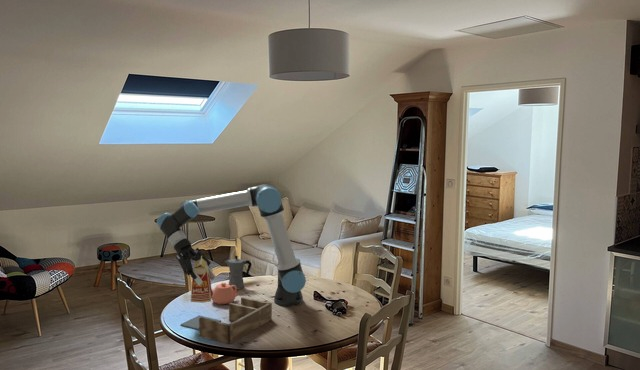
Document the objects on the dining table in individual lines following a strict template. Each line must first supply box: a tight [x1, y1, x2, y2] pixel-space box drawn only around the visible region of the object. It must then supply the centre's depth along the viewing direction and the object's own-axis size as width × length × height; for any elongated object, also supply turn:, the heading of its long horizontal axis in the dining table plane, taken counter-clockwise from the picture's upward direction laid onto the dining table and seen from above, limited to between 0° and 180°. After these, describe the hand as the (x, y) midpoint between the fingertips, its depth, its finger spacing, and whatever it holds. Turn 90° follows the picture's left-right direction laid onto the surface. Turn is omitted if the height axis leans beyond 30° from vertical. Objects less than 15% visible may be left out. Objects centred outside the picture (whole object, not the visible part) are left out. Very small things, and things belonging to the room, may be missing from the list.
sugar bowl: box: [211, 282, 239, 306], centre depth 273 cm, size 12×14×10 cm
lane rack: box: [198, 296, 273, 345], centre depth 240 cm, size 17×32×8 cm, turn 153°
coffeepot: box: [224, 255, 252, 290], centre depth 297 cm, size 15×9×18 cm, turn 82°
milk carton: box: [190, 256, 213, 304], centre depth 240 cm, size 9×9×20 cm
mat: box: [180, 314, 222, 331], centre depth 243 cm, size 13×13×1 cm
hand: (207, 281), depth 239 cm, fingers closed on milk carton, 9 cm apart
